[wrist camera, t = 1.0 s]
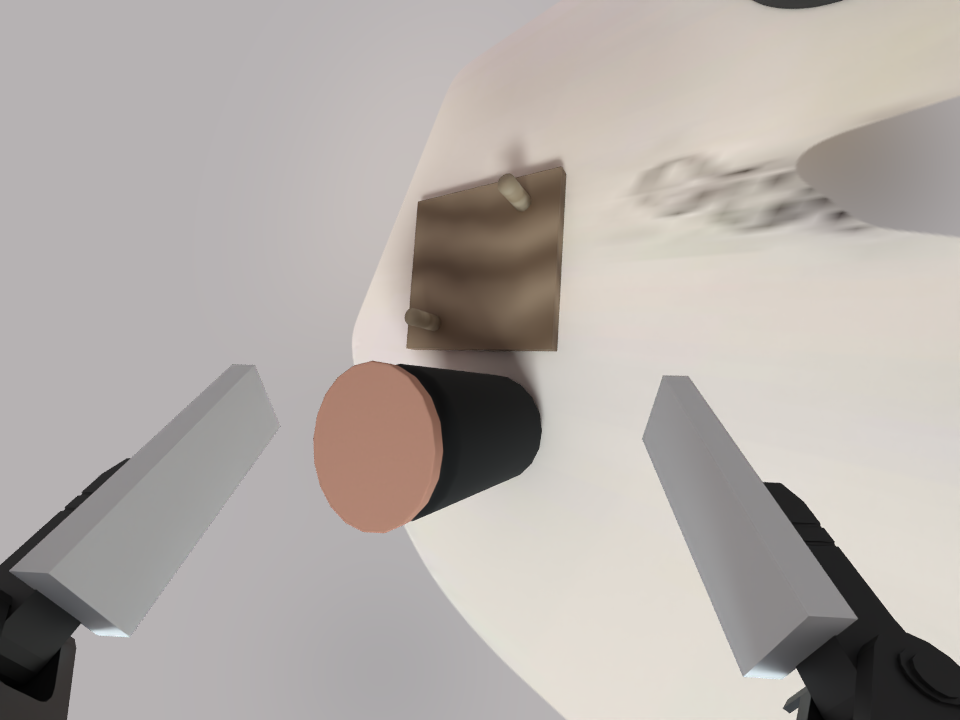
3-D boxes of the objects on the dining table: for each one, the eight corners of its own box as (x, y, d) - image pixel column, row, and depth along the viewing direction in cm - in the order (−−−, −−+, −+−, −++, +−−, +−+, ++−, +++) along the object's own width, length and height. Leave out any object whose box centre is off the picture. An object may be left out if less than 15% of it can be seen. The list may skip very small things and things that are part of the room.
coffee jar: (439, 433, 42) (292, 452, 27) (488, 356, 40) (359, 329, 25) (507, 501, 37) (375, 574, 22) (567, 418, 35) (468, 433, 20)
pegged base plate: (425, 207, 47) (395, 185, 42) (566, 174, 38) (547, 142, 33) (414, 349, 45) (381, 343, 41) (557, 351, 36) (536, 343, 32)
